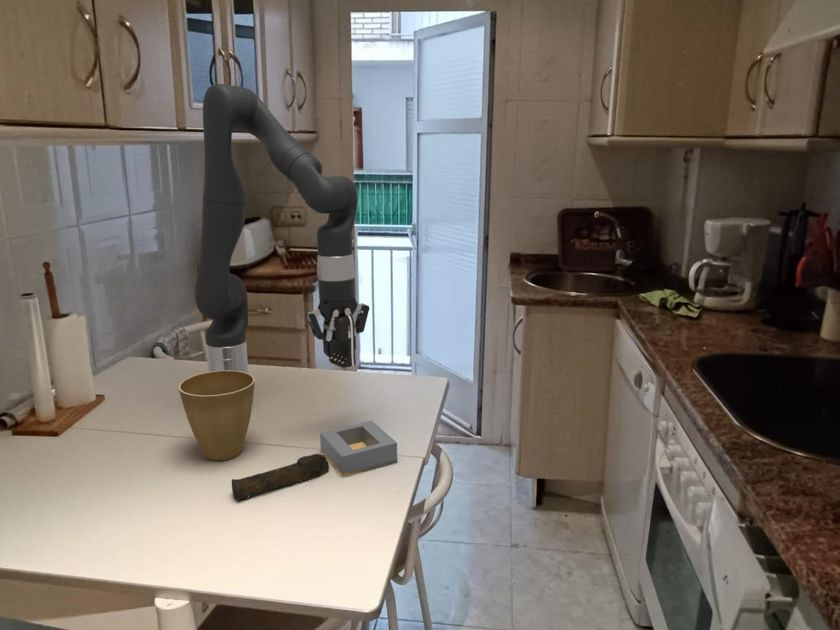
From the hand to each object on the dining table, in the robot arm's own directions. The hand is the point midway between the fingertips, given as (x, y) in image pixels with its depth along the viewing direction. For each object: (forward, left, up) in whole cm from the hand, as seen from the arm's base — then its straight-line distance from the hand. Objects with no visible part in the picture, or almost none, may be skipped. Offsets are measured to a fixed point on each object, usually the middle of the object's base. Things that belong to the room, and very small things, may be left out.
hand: (340, 354), depth 134 cm
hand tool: (-18, -12, -20) cm, 29 cm away
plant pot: (-25, +7, -20) cm, 32 cm away
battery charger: (0, 0, -3) cm, 3 cm away
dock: (-1, -9, -20) cm, 22 cm away
